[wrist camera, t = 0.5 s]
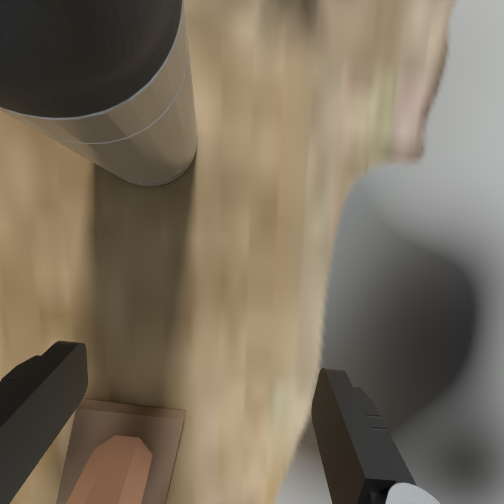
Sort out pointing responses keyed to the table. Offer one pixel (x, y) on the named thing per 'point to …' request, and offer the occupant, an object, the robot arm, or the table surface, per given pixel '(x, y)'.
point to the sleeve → (114, 473)
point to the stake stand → (131, 425)
